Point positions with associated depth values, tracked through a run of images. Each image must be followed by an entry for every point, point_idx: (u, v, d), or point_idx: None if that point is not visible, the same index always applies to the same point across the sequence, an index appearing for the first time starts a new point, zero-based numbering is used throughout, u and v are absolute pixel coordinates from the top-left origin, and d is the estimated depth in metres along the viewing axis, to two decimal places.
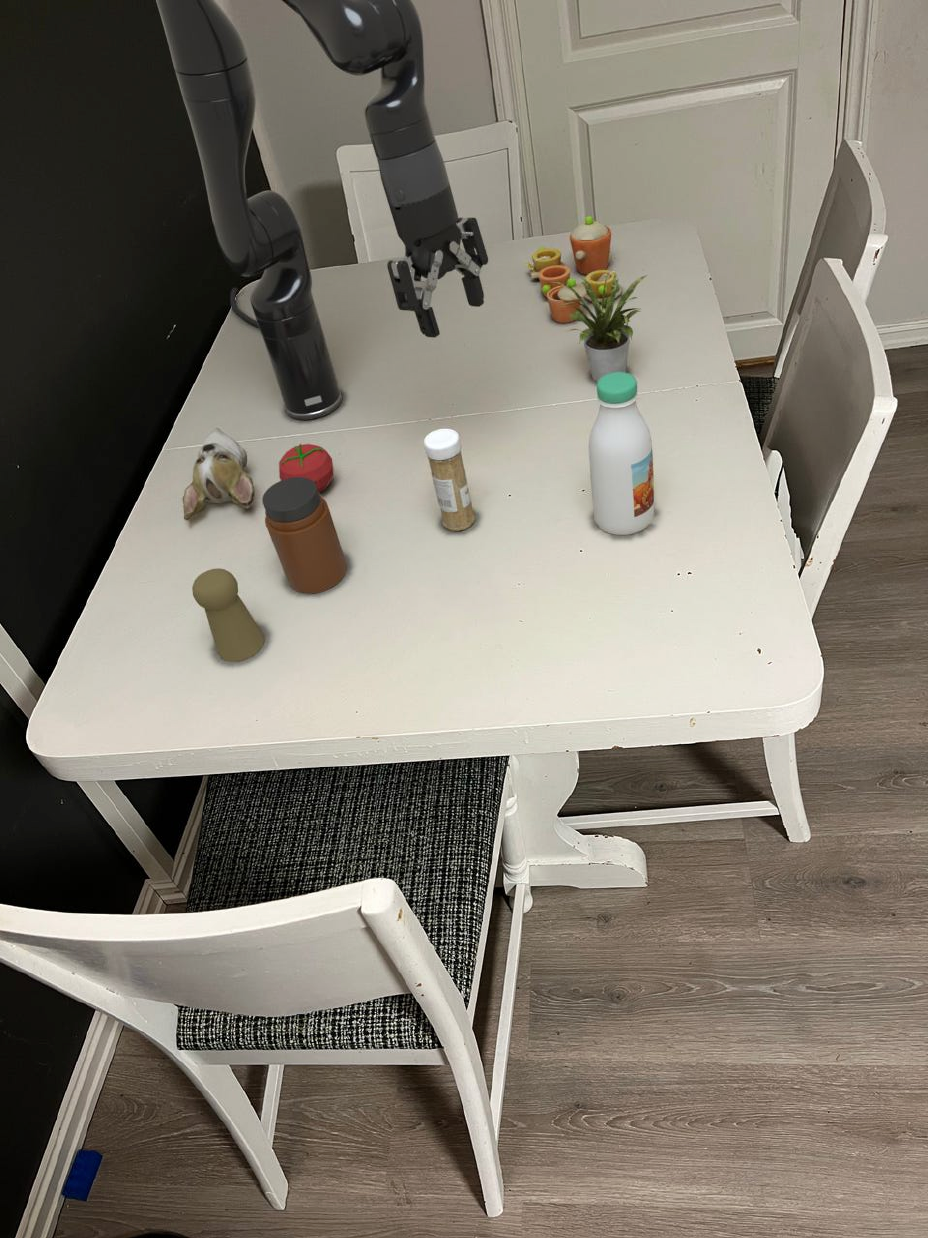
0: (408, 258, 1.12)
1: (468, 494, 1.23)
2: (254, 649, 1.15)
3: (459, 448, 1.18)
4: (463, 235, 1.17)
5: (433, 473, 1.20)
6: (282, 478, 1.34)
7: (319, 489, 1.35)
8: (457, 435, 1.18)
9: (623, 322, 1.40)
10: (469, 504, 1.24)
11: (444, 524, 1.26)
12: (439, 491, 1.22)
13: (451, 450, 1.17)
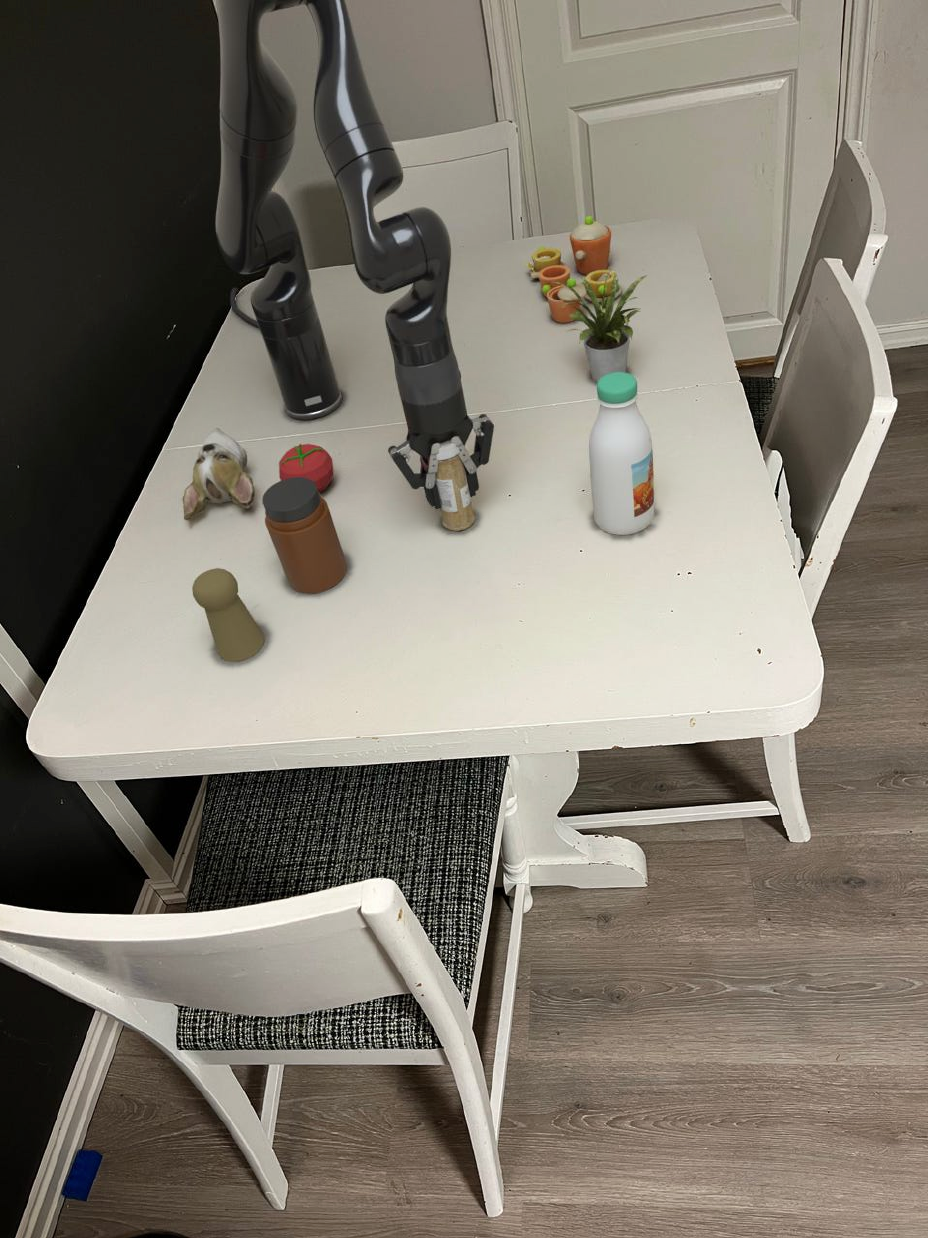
0: (405, 447, 1.17)
1: (468, 494, 1.23)
2: (254, 649, 1.15)
3: None
4: (475, 430, 1.19)
5: None
6: (282, 478, 1.34)
7: (319, 489, 1.35)
8: None
9: (623, 322, 1.40)
10: (469, 504, 1.24)
11: (444, 524, 1.26)
12: (439, 491, 1.22)
13: (451, 450, 1.17)
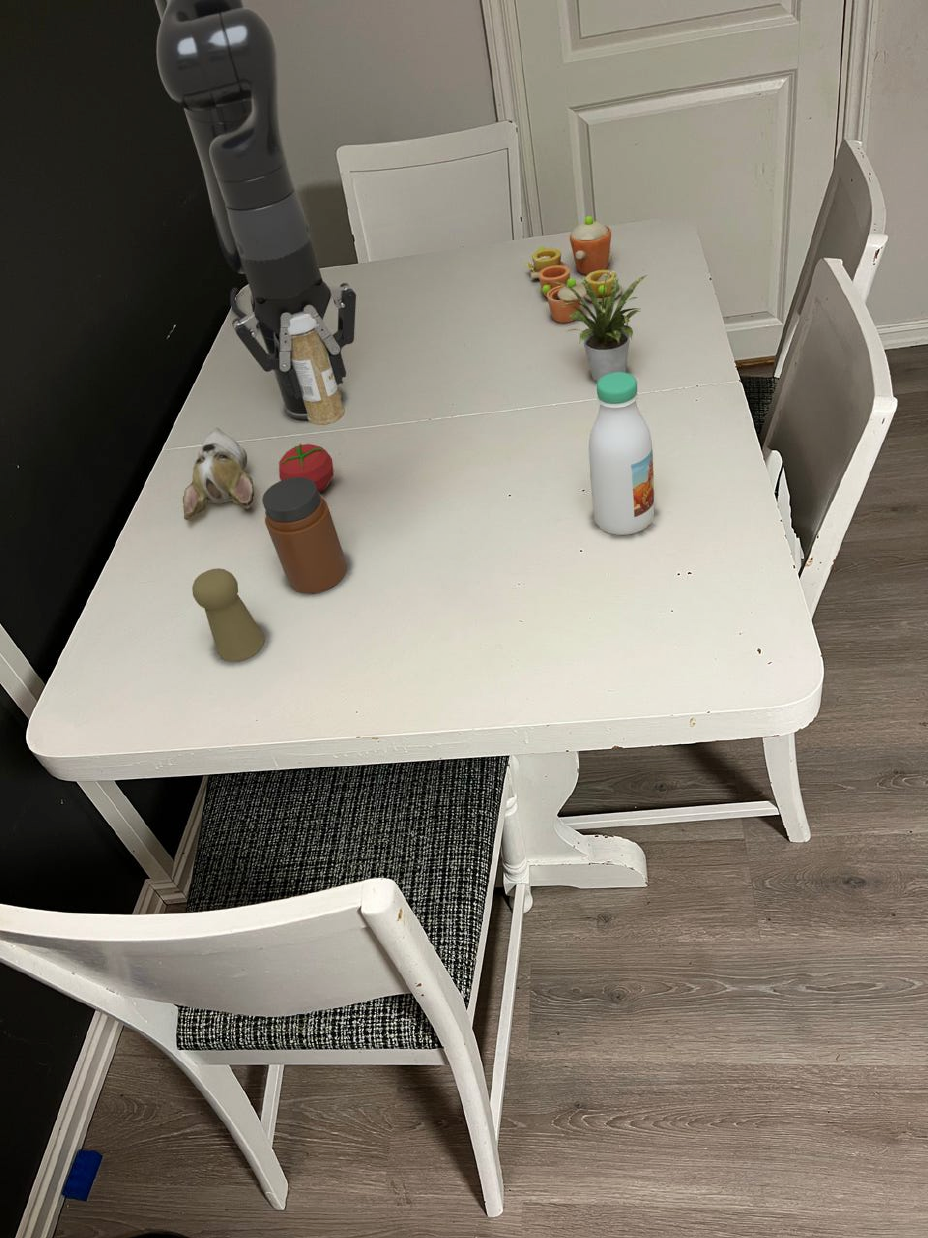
0: (250, 318, 1.00)
1: (332, 380, 1.06)
2: (254, 649, 1.15)
3: None
4: (335, 301, 1.02)
5: None
6: (282, 478, 1.34)
7: (319, 489, 1.35)
8: None
9: (623, 322, 1.40)
10: (335, 393, 1.08)
11: (309, 418, 1.10)
12: (298, 375, 1.05)
13: (305, 322, 1.00)
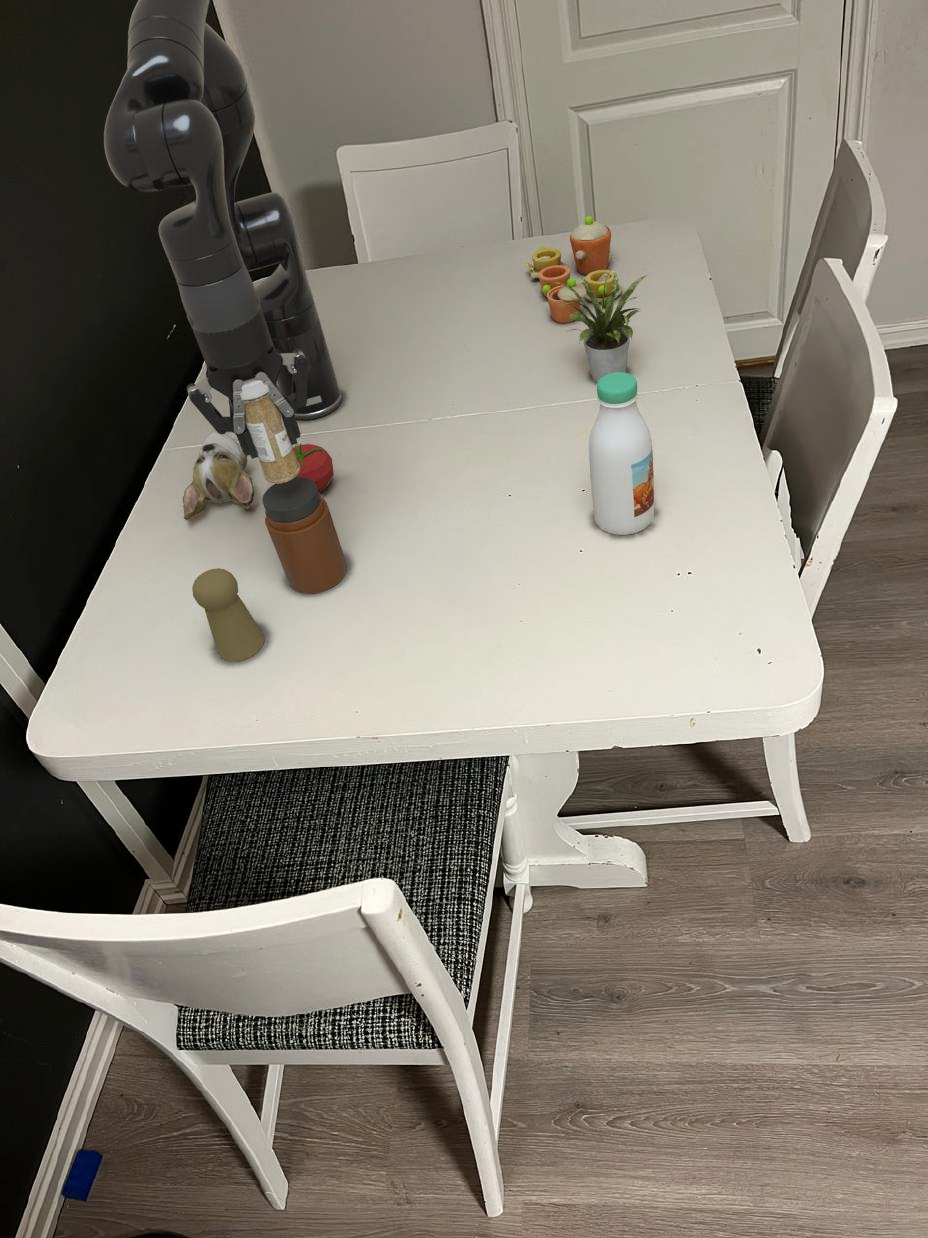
0: (203, 385, 1.03)
1: (286, 441, 1.09)
2: (254, 649, 1.15)
3: None
4: (287, 367, 1.05)
5: None
6: None
7: (319, 489, 1.35)
8: None
9: (623, 322, 1.40)
10: (290, 453, 1.10)
11: (265, 476, 1.12)
12: (252, 437, 1.08)
13: (257, 389, 1.03)
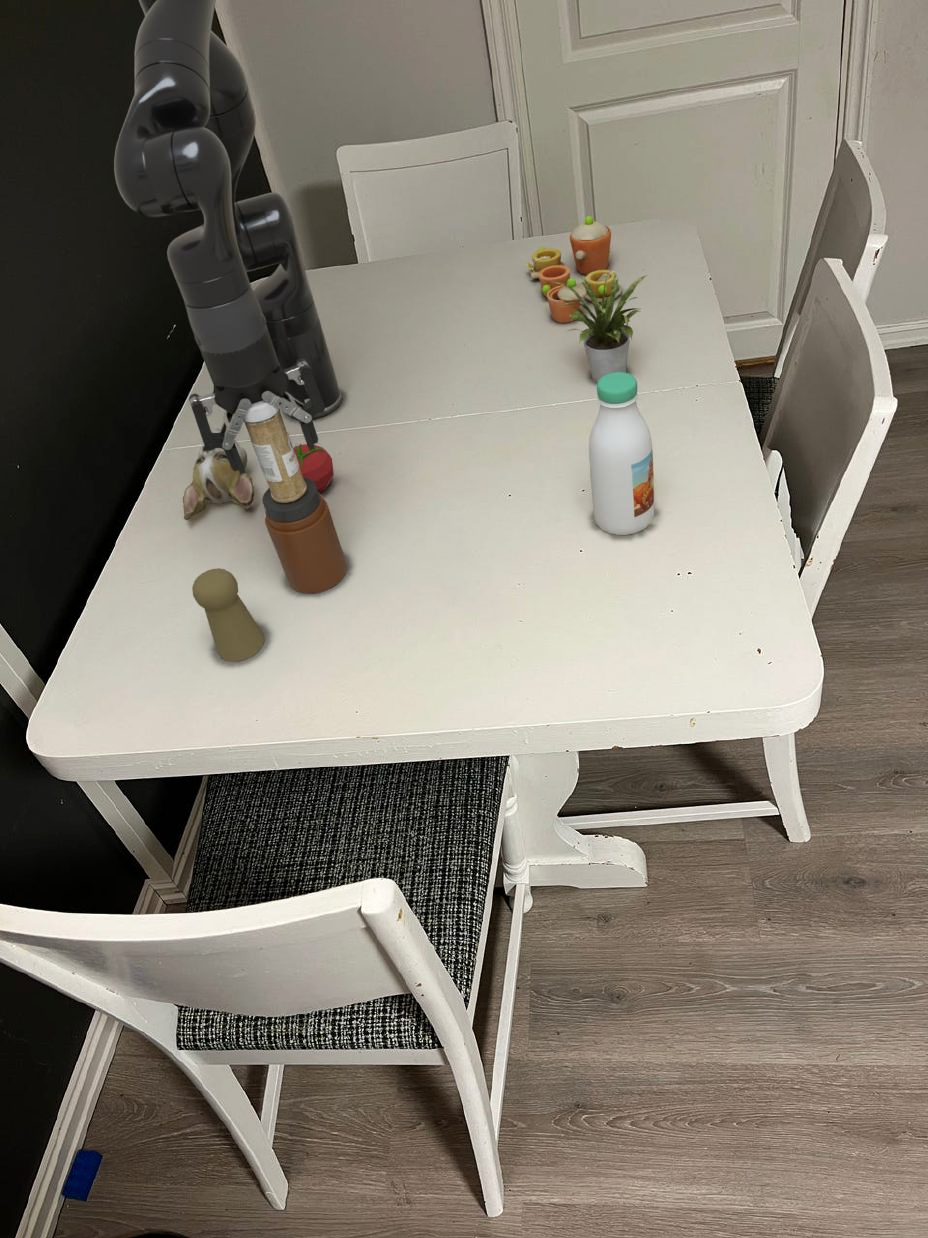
0: (209, 399, 1.04)
1: (293, 462, 1.11)
2: (254, 649, 1.15)
3: (275, 409, 1.06)
4: (295, 380, 1.06)
5: (251, 438, 1.09)
6: None
7: (319, 489, 1.35)
8: None
9: (623, 322, 1.40)
10: (297, 473, 1.12)
11: (272, 496, 1.14)
12: (260, 458, 1.10)
13: (264, 411, 1.05)
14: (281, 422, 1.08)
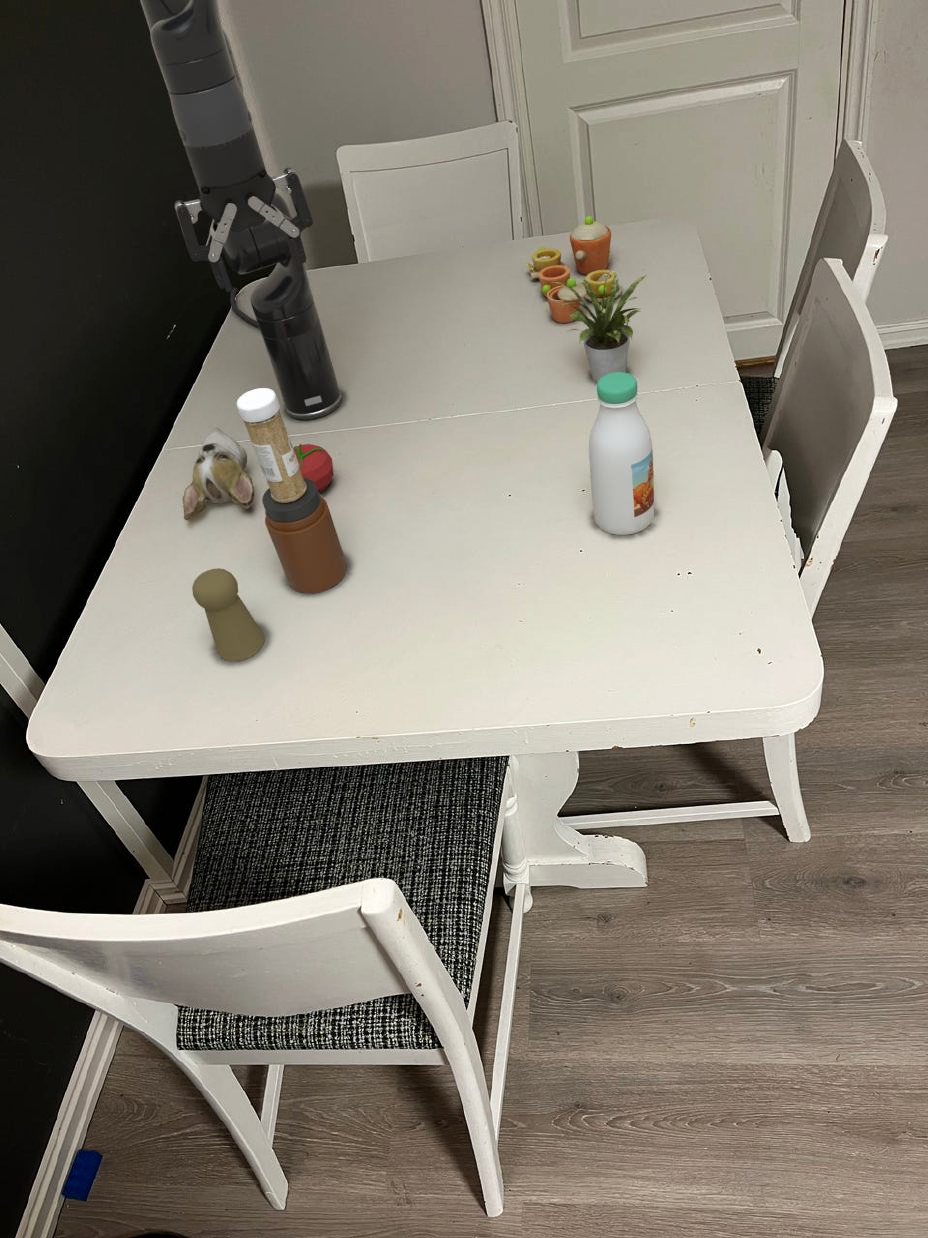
0: (194, 203, 1.02)
1: (293, 462, 1.11)
2: (254, 649, 1.15)
3: (275, 409, 1.06)
4: (282, 189, 1.05)
5: (251, 438, 1.09)
6: None
7: (319, 489, 1.35)
8: (273, 395, 1.06)
9: (623, 322, 1.40)
10: (297, 473, 1.12)
11: (272, 496, 1.14)
12: (260, 458, 1.10)
13: (264, 411, 1.05)
14: (281, 422, 1.08)
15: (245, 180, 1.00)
